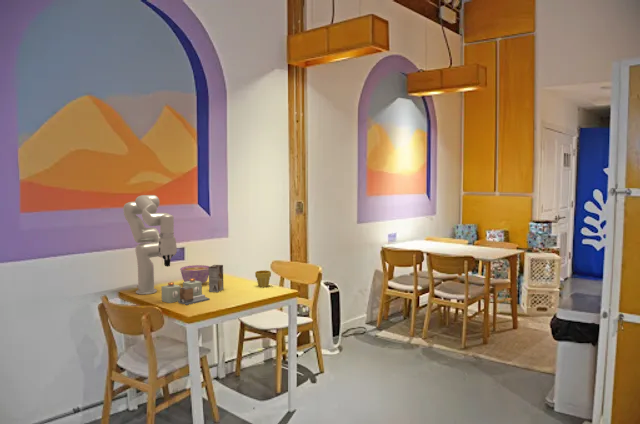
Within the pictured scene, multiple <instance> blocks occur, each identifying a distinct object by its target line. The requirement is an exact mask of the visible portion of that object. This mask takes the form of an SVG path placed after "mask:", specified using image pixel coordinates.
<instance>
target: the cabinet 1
mask: <svg viewBox="0 0 640 424" xmlns="http://www.w3.org/2000/svg"><path fill="white" fill-rule="evenodd" d="M160 287H161V301H162V302H164V303H166V304H167V303H168V304H173V303H178V301H180V288H182V285H178V284H174V287H169V285H168V284H167V285H163V286H160Z"/></svg>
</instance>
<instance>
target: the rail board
mask: <svg viewBox="0 0 640 424" xmlns="http://www.w3.org/2000/svg"><path fill="white" fill-rule="evenodd" d="M210 300H211V299H210V297H206V295H205V294H202V295H199V296H194V297H193V301H190V302H184V299H182V301H177V303H178V304H182V305H184V304H185V305H184V306H190V305H193V303H194V304H198V303H202V302H203V303H204V302H207V301H210ZM189 304H190V305H189Z"/></svg>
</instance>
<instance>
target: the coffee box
mask: <svg viewBox="0 0 640 424" xmlns="http://www.w3.org/2000/svg"><path fill="white" fill-rule="evenodd" d="M222 290H224V265H223V264H213V265H211V266H210V267H209V276H208V291H209V293H219V292H220V291H222Z"/></svg>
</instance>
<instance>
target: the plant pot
mask: <svg viewBox="0 0 640 424" xmlns="http://www.w3.org/2000/svg"><path fill="white" fill-rule="evenodd" d="M254 273H255V275H254V276H255V278H256V281H257V286H258V287H259V288H266V287H267V288H268V287H269V284H270V278H271V276H272V271H270V270H267V269H266V270H263V269H262V270H258V271H255V272H254Z"/></svg>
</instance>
